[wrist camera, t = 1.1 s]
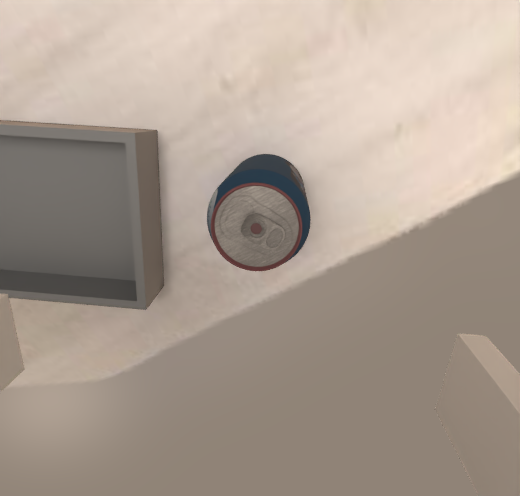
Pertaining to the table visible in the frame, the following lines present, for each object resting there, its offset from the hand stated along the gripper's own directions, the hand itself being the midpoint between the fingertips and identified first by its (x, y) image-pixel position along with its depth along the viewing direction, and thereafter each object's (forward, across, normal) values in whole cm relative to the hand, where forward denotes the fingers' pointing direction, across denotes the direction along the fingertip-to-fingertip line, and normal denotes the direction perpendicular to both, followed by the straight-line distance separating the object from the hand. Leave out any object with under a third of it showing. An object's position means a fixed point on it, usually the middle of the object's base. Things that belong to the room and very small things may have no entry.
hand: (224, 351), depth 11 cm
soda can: (+24, 0, 0) cm, 24 cm away
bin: (+24, -21, -3) cm, 32 cm away
